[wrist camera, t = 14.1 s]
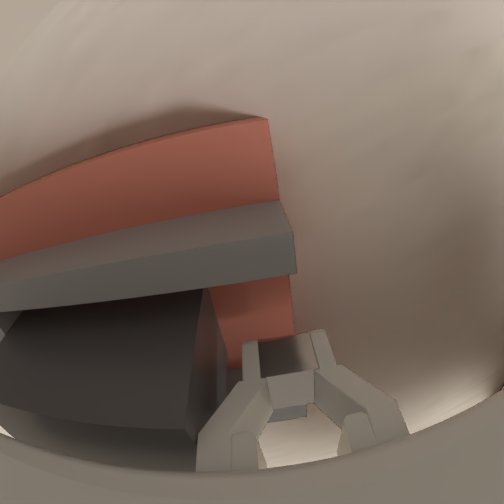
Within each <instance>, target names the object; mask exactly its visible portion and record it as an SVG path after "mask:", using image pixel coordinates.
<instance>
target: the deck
mask: <svg viewBox="0 0 504 504" xmlns="http://www.w3.org/2000/svg"><path fill="white" fill-rule="evenodd" d="M295 273H297V266H296V256H295V247H294V237H293V231H292V228H291V226H290V224H289V221H288V219H287V216H286V214H285V212H284V209H283V207H282V205H281V202H280V200H279V193H278V185H277V178H276V171H275V164H274V158H273V151H272V144H271V138H270V131H269V125H268V119H265V118H262V117H256V118H249V119H243V120H237V121H231V122H226V123H221V124H215V125H210V126H205V127H201V128H196V129H192V130H187V131H183V132H179V133H174V134H170V135H166V136H162V137H159V138H155V139H151V140H147V141H144V142H140V143H137V144H133V145H130V146H127V147H124V148H120V149H117V150H114V151H111V152H108V153H105V154H102V155H99V156H96V157H93V158H90V159H87V160H85V161H82V162H79V163H76V164H74V165H71V166H69V167H66V168H63V169H61V170H58V171H56V172H54V173H51V174H49V175H46V176H44V177H42V178H39V179H37V180H35V181H33V182H30V183H28V184H26V185H24V186H22V187H19V188H17V189H15V190H13V191H11V192H9V193H7V194H5V195H3V196H1V197H0V342H1V341H2V339H3V338H4V336H5V335H6V333H7V332H8V330H9V329H10V328H11V326H12V325H13V323H14V322H15V321H16V319H17V318H18V317H19V315H20V314H21V313H22V311H23V310H29V309H40V308H49V307H59V306H68V305H77V304H86V303H95V302H103V301H111V300H119V299H127V298H135V297H143V296H150V295H158V294H165V293H173V292H180V291H187V290H194V289H201V288H207V287H208V290H209V293H210V297H211V300H212V304H213V307H214V310H215V314H216V317H217V320H218V324H219V327H220V330H221V333H222V336H223V340H224V343H225V346H226V349H227V352H228V360H227V396H228V394H229V393H230V392H231V390H232V389H233V388H234V386H235V385H236V384H237V382H238V381H243V378H242V342H245V341H254V340H259V339H267V338H275V337H281V336H287V335H293V334H295V330H294V320H293V310H292V300H291V291H290V282H289V275H290V274H295ZM302 417H307V409H306V404H302V405H296V406H290V407H284V408H279V409H273V412H272V414H271V416H270V418H269V420H268V422H267V423H269V422H277V421H283V420H290V419H296V418H302Z"/></svg>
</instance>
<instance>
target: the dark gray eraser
mask: <svg viewBox="0 0 504 504" xmlns="http://www.w3.org/2000/svg"><path fill="white" fill-rule="evenodd" d="M227 360H228V352H227V349H226V346H225V343H224V340H223V336H222V333H221V330H220V327H219V324H218V320H217V317H216V314H215V310H214V307H213V304H212V300H211V297H210V293H209V290H208V287H207V288H201V289H194V290H187V291H180V292H173V293H165V294H158V295H150V296H143V297H135V298H127V299H119V300H111V301H103V302H95V303H86V304H77V305H68V306H59V307H49V308H40V309H29V310H23V311H22V313H21V314H20V315H19V317H18V318H17V319H16V321H15V322H14V323H13V325H12V326H11V328H10V329H9V330H8V332H7V333H6V335H5V336H4V338H3V339H2V341H1V342H0V426H1V427H3V428H4V429H5V430H6V431H7V432H8V433H9V434H10V435H11V436H13V437H14V438H15V439H17V440H19V441H22V442H25V443H28V444H31V445H34V446H37V447H40V448H43V449H47V450H50V451H53V452H57V453H61V454H64V455H68V456H72V457H77V458H81V459H86V460H90V461H95V462H101V463H106V464H112V465H118V466H125V467H133V468H142V469H152V470H165V471H185V472H196V457H197V442H198V433H199V432H200V431H201V430H202V428H203V427H204V426H205V425H206V423H207V422H208V421H209V419H210V418H211V417H212V416H213V414H214V413H215V412H216V410H217V409H218V408H219V406H220V405H221V404H222V402H223V401H224V400H225V398H226V397H227Z"/></svg>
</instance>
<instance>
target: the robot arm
mask: <svg viewBox="0 0 504 504" xmlns="http://www.w3.org/2000/svg"><path fill="white" fill-rule="evenodd" d="M242 378H243V381H238V382H237V384H236V385H235V386H234V388H233V389H232V390H231V392H230V393H229V394H228V396H227V397H226V398H225V400H224V401H223V402H222V404H221V405H220V406H219V408H218V409H217V410H216V412H215V413H214V414H213V416H212V417H211V418H210V419H209V421H208V422H207V423H206V425H205V426H204V427H203V428H202V430H201V431H200V432H199V433H198V442H197V457H196V472H185V471H165V470H152V469H142V468H133V467H125V466H118V465H112V464H106V463H101V462H95V461H90V460H86V459H81V458H77V457H72V456H68V455H64V454H61V453H57V452H53V451H50V450H47V449H43V448H40V447H37V446H34V445H31V444H28V443H25V442H22V441H19V440H17V439H14V438H11V437H9V436H6V435H4V434H2V433H0V504H504V386H503V388H502V390H500V391H499V392H497V393H495V394H494V395H492V396H490V397H489V398H487V399H485V400H483V401H482V402H480V403H478V404H476V405H474V406H472V407H470V408H469V409H467V410H465V411H463V412H461V413H459V414H457V415H454V416H452V417H450V418H448V419H446V420H444V421H442V422H439V423H437V424H435V425H432V426H430V427H428V428H425V429H423V430H420V431H418V432H415V433H413V434H409V431H408V429H407V426H406V424H405V421H404V419H403V416H402V414H401V411H400V409H399V407H398V404H397V402H396V400H394V399H393V398H391V397H390V396H388V395H387V394H385V393H384V392H382V391H381V390H379V389H378V388H376V387H375V386H373V385H372V384H370V383H369V382H367V381H366V380H364V379H363V378H361V377H360V376H358V375H357V374H355V373H354V372H352V371H351V370H349V369H348V368H346V367H345V366H343V365H342V364H340V365H337V364H336V361H335V358H334V355H333V352H332V349H331V346H330V343H329V340H328V337H327V334H326V332H325V330H324V329H319V330H314V331H309V332H303V333H298V334H293V335H287V336H281V337H275V338H267V339H259V340H254V341H245V342H242ZM309 403H314V404H315V405H316V406H317V407H318V408H319V409H320V410H322V411H323V412H324V413H325V414H326V415H327V416H328V417H329V418H330V419H331V420H332V421H333V422H334V423H335V424H336V425H337V426H339V427H340V428H341V429H342V431H341V436H340V440H339V445H338V449H337V454H338V456H337V457H332V458H328V459H323V460H318V461H313V462H307V463H302V464H296V465H289V466H282V467H274V468H267V464H266V461H265V458H264V456H263V453H262V450H261V448H260V445H259V442H258V438H259V436H260V435H261V433H262V431H263V429H264V427H265V425H266V423H267V422H268V420H269V418H270V416H271V414H272V412H273V409H279V408H284V407H290V406H296V405H302V404H309Z"/></svg>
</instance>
